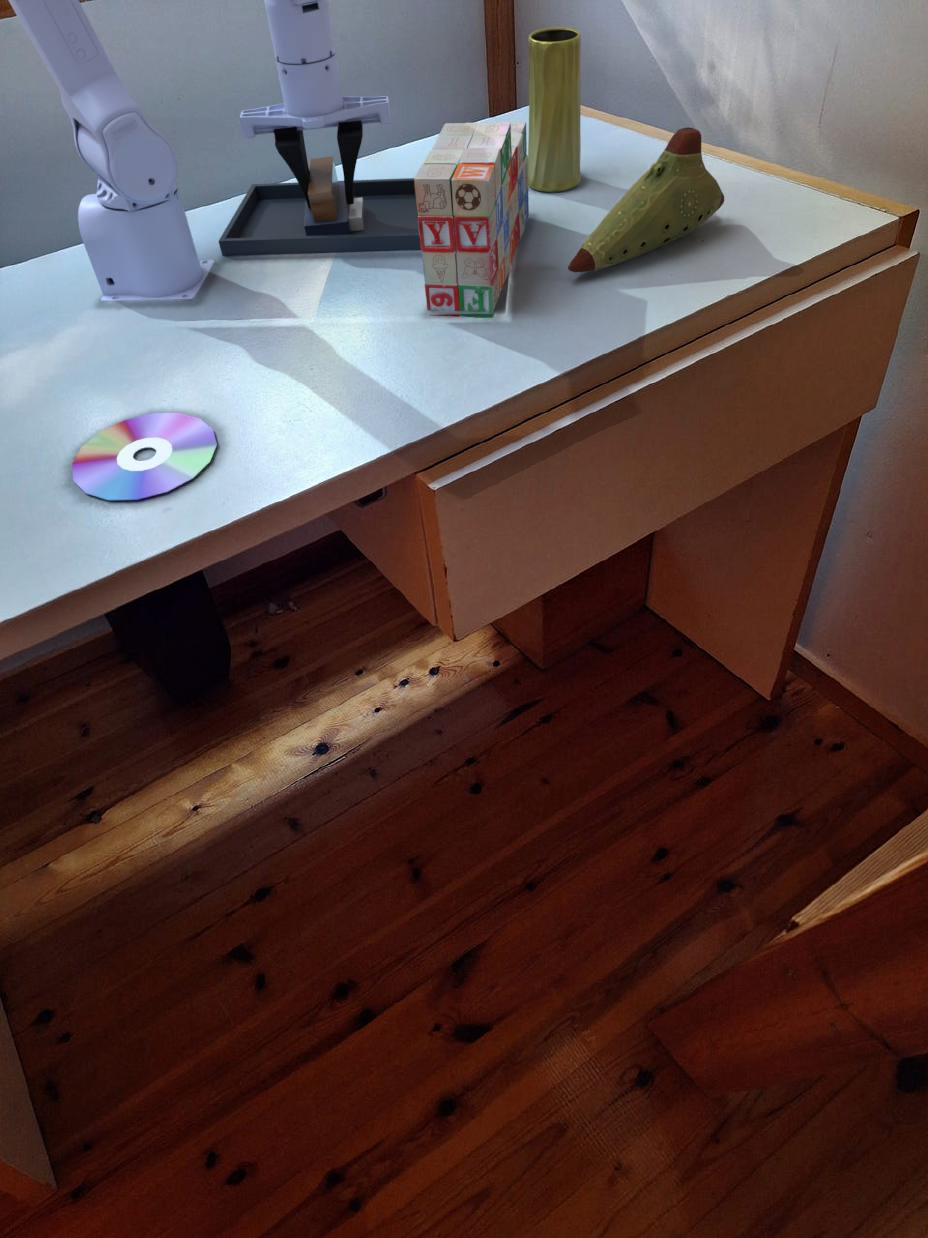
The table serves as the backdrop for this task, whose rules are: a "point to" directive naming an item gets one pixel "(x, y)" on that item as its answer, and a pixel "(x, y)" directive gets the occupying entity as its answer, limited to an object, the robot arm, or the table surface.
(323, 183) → the eraser
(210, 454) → the cd
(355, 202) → the chalk
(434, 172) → the stack of blocks
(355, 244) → the tray
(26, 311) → the table surface
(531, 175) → the vase
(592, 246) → the ocarina
